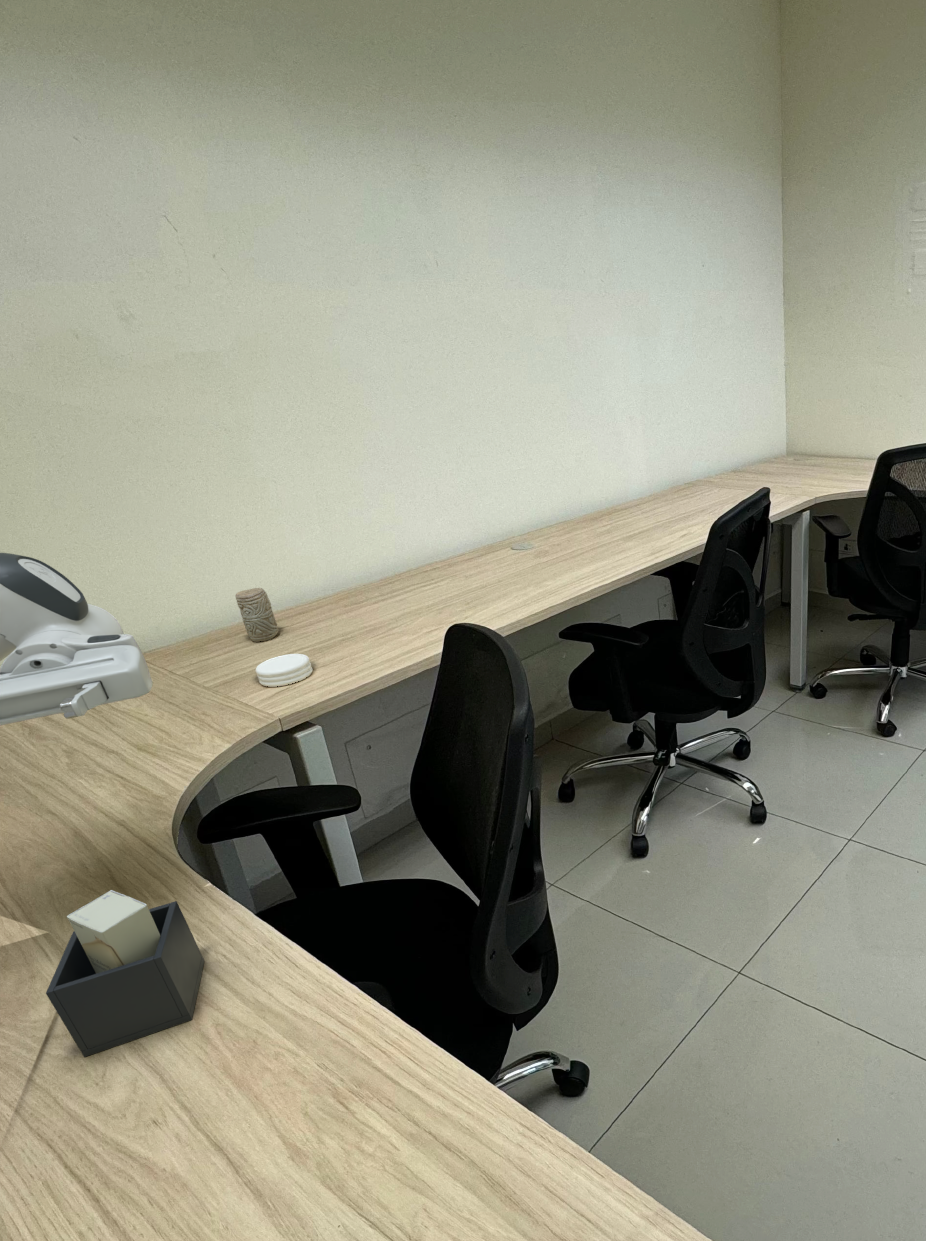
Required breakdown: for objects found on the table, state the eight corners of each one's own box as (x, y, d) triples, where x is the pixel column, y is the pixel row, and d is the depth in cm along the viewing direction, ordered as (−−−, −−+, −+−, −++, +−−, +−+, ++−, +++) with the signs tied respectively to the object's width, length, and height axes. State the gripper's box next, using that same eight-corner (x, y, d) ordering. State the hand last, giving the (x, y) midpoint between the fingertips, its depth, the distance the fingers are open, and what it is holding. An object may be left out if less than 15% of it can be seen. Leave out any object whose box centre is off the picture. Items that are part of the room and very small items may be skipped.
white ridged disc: (310, 663, 165) (306, 648, 164) (315, 678, 158) (311, 663, 156) (258, 676, 160) (253, 661, 159) (261, 692, 153) (255, 676, 151)
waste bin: (83, 1057, 75) (45, 993, 71) (106, 992, 83) (72, 931, 79) (192, 1020, 79) (160, 956, 75) (204, 960, 86) (176, 900, 82)
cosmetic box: (110, 1005, 80) (61, 916, 75) (154, 974, 84) (110, 888, 78) (147, 1023, 77) (99, 933, 72) (190, 990, 81) (147, 902, 76)
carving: (245, 645, 178) (228, 597, 172) (256, 634, 184) (240, 587, 179) (274, 641, 179) (258, 594, 174) (284, 630, 185) (269, 584, 180)
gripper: (-76, 670, 83) (-141, 721, 71) (147, 630, 90) (121, 671, 79) (-47, 720, 85) (-106, 778, 74) (167, 678, 93) (144, 724, 82)
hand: (13, 722), depth 77 cm, fingers open, 8 cm apart
